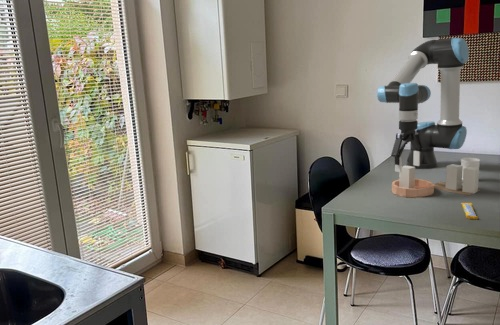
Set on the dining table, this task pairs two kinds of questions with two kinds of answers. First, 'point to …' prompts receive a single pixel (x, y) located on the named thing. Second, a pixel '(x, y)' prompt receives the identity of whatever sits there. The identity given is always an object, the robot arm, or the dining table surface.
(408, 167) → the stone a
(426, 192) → the bowl
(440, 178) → the dining table surface
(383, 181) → the dining table surface
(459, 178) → the off-white rectangular block
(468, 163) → the white cup
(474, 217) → the candy bar
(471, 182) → the off-white square pillar
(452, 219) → the dining table surface
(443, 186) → the board
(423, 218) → the dining table surface
